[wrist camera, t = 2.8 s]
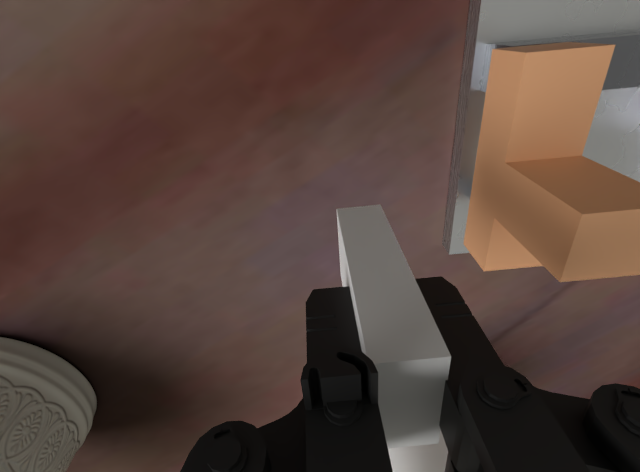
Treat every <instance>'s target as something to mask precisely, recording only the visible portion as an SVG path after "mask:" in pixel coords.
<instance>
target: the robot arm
mask: <svg viewBox="0 0 640 472" xmlns="http://www.w3.org/2000/svg"><path fill="white" fill-rule="evenodd" d="M337 223H338V239H339V255H340V272H341V279H342V285H343V287H336V288H325V289H314V290H313V291H312V293H311V294H310V296H309V298H308V300H307V302H306V330H307V364H306V365H305V366H304V368H303V372H302V376H301V386H302V392H303V399H302V400H301V401H300V403H299V404H298V406H297V407H296V408H295V409H293V410H292V411H291V412H290V413H289V414H287V415H285V416H284V417H282V418H280V419H278V420H276V421H274V422H271V423H269V424H267V425H264V426H262V427H260V428H256V427H255V426H254V425H252V424H249V423H246V422H243V421H228V422H225V423H222V424H220V425H218V426H215V427H213V428H212V429H210V430H209V431H208V432H207V433H205V434H204V435H203V436H202V437H201V438H199V440H198V441H197V443H196V444H195V446H194V447H193V449H192V450H191V452H190V453H189V455H188V457H187V459H186V461H185V463H184V465H183V467H182V469H181V471H180V472H393V471H392V466H391V461H390V457H389V452H388V448H398V447H408V446H419V445H430V444H438V443H439V436H440V429H441V432H442V435H443V438H444V441H445V443H446V446H447V449H448V455H447V461H446V467H445V472H640V389H638V388H636V387H633V386H627V385H621V384H609V385H602V386H601V387H599V388H598V389H597V390H595V391H594V392H593V394H592V396H591V399H585V398H579V397H574V396H568V395H563V394H558V393H552V392H548V391H545V390H541V389H538V388H536V387H534V386H533V385H532V384H531V383H530V382H529V381H528V380H527V379H526V377H524V376H523V375H521V374H520V373H518V372H516V371H515V370H513V369H512V368H509V367H506V366H505V365H504V364H503V363H502V362H501V360H500V358H499V357H498V355H497V353H496V352H495V350H494V349H493V347H492V345H491V344H490V342H489V340H488V339H487V337H486V335H485V334H484V332H483V331H482V329H481V327H480V326H479V324H478V322H477V321H476V319H475V318H474V316H472V313H471V311H470V309H469V308H468V306H467V304H465V301H464V300H463V298H462V296H461V295H460V293H459V291H458V290H457V288H456V287H455V286H453V285H452V284H451V283H449V282H448V281H447V280H445V279H444V278H443V277H431V278H420V279H415V278H414V276H413V273H412V271H411V269H410V267H409V265H408V263H407V261H406V258H405V256H404V254H403V252H402V250H401V248H400V246H399V243H398V241H397V239H396V237H395V235H394V233H393V230H392V228H391V226H390V224H389V222H388V220H387V218H386V215H385V213H384V211H383V209H382V207H381V205H371V206H361V207H350V208H339V209H337Z"/></svg>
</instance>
